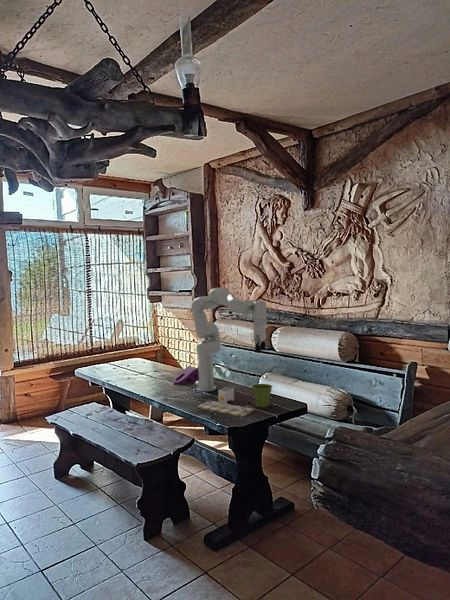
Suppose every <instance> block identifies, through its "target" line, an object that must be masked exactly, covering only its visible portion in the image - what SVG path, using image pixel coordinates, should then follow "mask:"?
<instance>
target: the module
mask: <svg viewBox="0 0 450 600" xmlns="http://www.w3.org/2000/svg"><path fill="white" fill-rule="evenodd" d="M234 389H235V388H234V387H233V386H232V387H231V386H224V387H222V388H220V389H218V392H217V393H218V402H220V403H225V404H228V401H230V402H233V401H234V400H235V391H234Z"/></svg>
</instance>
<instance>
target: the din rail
mask: <svg viewBox="0 0 450 600" xmlns="http://www.w3.org/2000/svg"><path fill="white" fill-rule="evenodd" d="M211 401H212V400H209V401H206V402H205V401H204V403H205V405H209V406H214V407H220V408H225V409H230V410H235V411H240V412H245V411H247V408H248V407H247V408H243V407H244V406H241V407H238V406H239V405H236V406H232V405H233V404H231V405H227V404H228V403H227V404H222V403H217V402H218V401H215V402H211Z"/></svg>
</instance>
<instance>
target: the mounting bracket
mask: <svg viewBox="0 0 450 600" xmlns="http://www.w3.org/2000/svg"><path fill="white" fill-rule="evenodd" d="M187 381H190V382H192V383H195V382H196V381H199V369H198V367H195V366H189V365H187V366H186V367H185V368H184V369H183V370H181V371H180V372H179V373H178V374H177V375H175V376H174V377H173V378H172V382H173V384H174V385H176V384H178V385H177V386H179V385H182V384H184V383H185V382H187Z"/></svg>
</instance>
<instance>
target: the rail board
mask: <svg viewBox="0 0 450 600" xmlns="http://www.w3.org/2000/svg"><path fill="white" fill-rule="evenodd" d="M210 401H211V402H217V403H220V402H219V401H213V400H210ZM222 404H225V403H222ZM227 405H232V406H238V407H243V408H247V411H245V412H240V411H235V410H230V409H225V408H220V407H214V406H209V405H205V402H203V403H202V404H199V405H197V408H198V409H203V410H206V411H211V412H217V413H222V414H227V415H231V416H235V417H242V418H243V417H246V416H248V415H249V414H251V413H253V412H255V411H256V410H255V408H251V407H247V406H240V405H235V404H231V403H227Z"/></svg>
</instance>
